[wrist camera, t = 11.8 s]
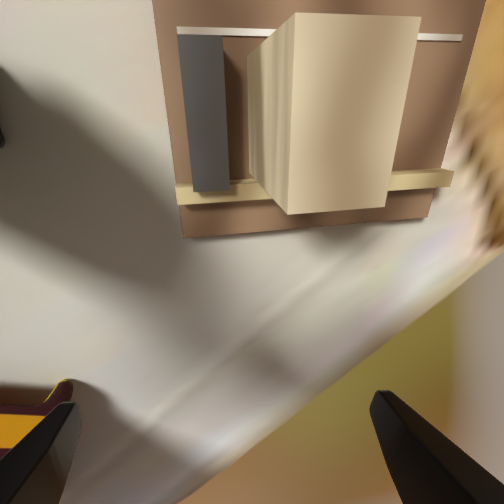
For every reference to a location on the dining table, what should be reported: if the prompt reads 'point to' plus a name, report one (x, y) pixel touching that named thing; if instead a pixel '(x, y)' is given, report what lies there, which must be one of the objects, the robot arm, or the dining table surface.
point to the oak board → (236, 107)
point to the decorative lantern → (28, 416)
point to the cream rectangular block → (329, 108)
